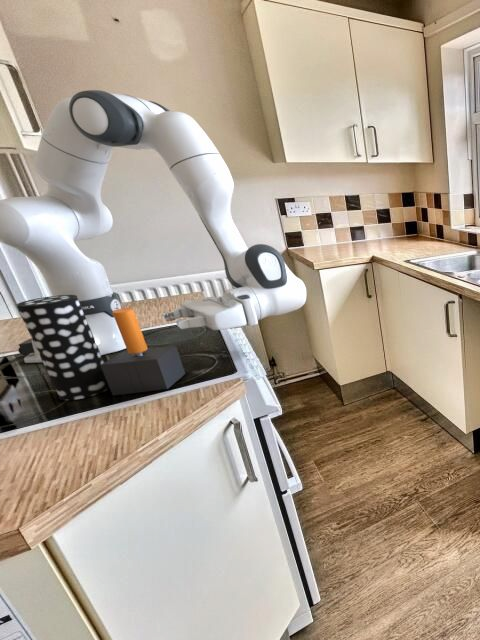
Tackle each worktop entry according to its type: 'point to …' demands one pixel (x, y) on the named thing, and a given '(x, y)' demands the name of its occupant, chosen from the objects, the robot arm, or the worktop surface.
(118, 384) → the holder
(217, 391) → the worktop surface
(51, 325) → the spotted tube
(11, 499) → the worktop surface
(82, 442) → the worktop surface
